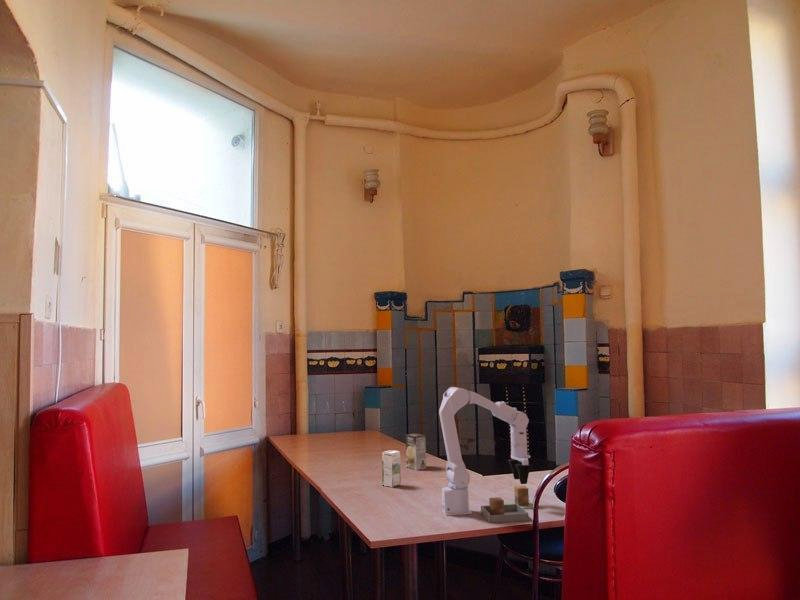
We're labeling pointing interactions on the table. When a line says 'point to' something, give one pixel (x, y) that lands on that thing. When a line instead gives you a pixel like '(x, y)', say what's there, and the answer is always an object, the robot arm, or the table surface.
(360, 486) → the table surface
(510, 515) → the bin
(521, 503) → the label block
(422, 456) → the coffee box
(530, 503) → the mat
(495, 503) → the plain block
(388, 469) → the syrup box
